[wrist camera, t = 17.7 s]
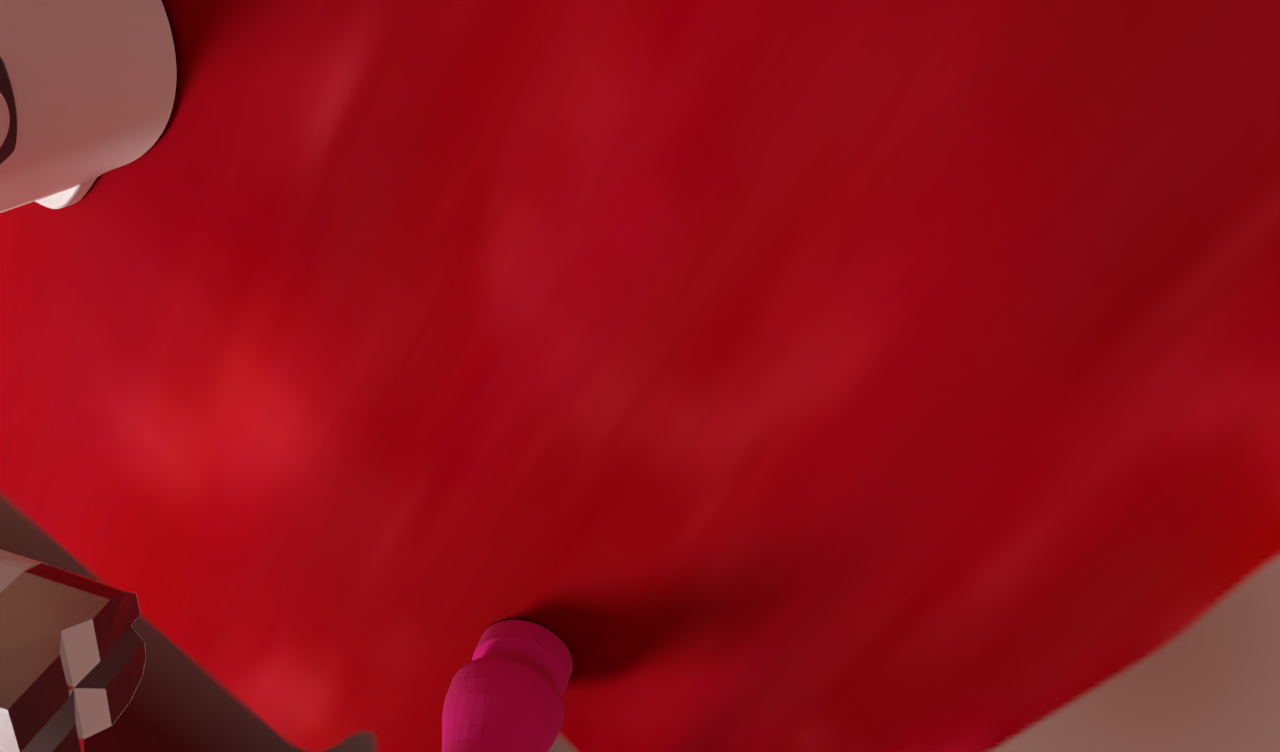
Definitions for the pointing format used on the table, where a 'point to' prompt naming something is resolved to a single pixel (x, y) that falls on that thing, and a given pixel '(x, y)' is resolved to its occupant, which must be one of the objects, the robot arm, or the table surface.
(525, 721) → the pepper mill
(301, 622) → the table surface
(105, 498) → the table surface
